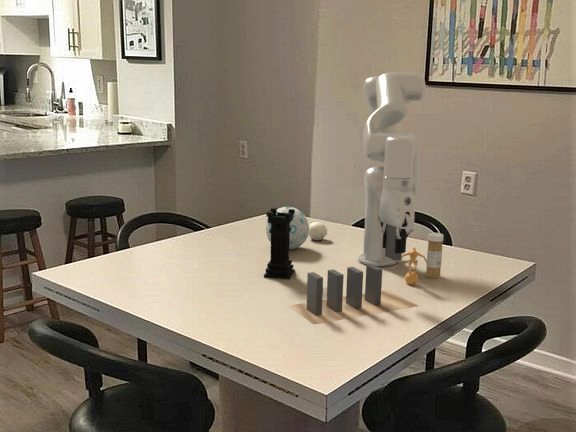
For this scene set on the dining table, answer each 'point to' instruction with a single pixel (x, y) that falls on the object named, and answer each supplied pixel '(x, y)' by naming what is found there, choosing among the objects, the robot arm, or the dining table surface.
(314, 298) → the domino
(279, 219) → the chess piece
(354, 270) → the domino
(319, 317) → the cork mat
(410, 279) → the figurine
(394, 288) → the dining table surface
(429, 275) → the sprinkles bottle
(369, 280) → the domino
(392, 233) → the domino
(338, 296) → the domino
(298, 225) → the puzzle ball
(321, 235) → the cream round ball
